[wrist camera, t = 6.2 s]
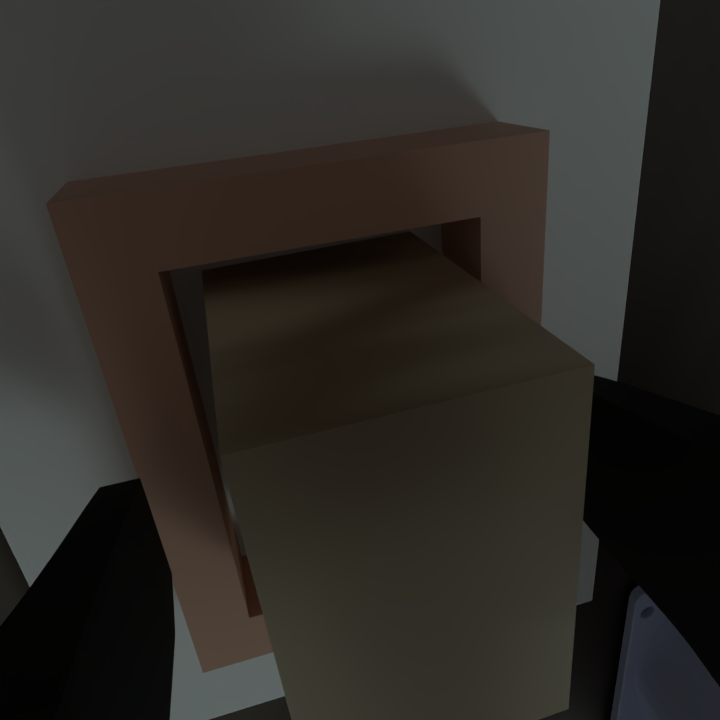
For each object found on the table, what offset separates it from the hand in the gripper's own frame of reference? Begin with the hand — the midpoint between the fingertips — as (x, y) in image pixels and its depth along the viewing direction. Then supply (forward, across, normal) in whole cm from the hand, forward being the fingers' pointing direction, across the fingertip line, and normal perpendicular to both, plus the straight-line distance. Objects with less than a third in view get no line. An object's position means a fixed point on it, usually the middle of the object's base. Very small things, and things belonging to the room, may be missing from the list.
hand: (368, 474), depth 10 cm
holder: (+4, 0, 0) cm, 4 cm away
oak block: (+3, 0, 0) cm, 3 cm away
